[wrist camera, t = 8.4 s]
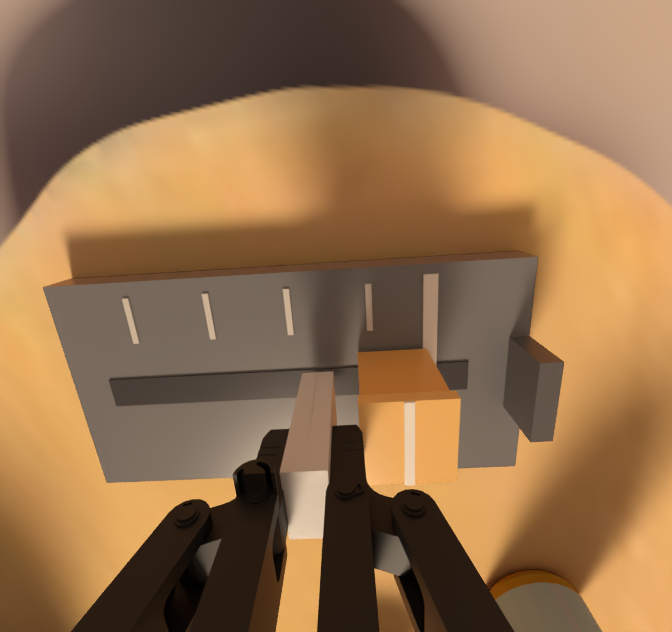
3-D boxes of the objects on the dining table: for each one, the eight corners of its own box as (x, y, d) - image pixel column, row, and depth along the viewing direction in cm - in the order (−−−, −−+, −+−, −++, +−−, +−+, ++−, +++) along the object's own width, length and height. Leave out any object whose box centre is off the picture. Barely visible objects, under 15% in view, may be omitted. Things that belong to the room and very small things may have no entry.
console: (125, 459, 23) (70, 526, 19) (71, 278, 20) (-15, 304, 15) (500, 443, 23) (542, 509, 18) (518, 250, 19) (577, 269, 14)
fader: (357, 414, 19) (362, 487, 15) (354, 349, 18) (358, 405, 13) (428, 411, 19) (457, 483, 14) (429, 345, 18) (461, 400, 13)
